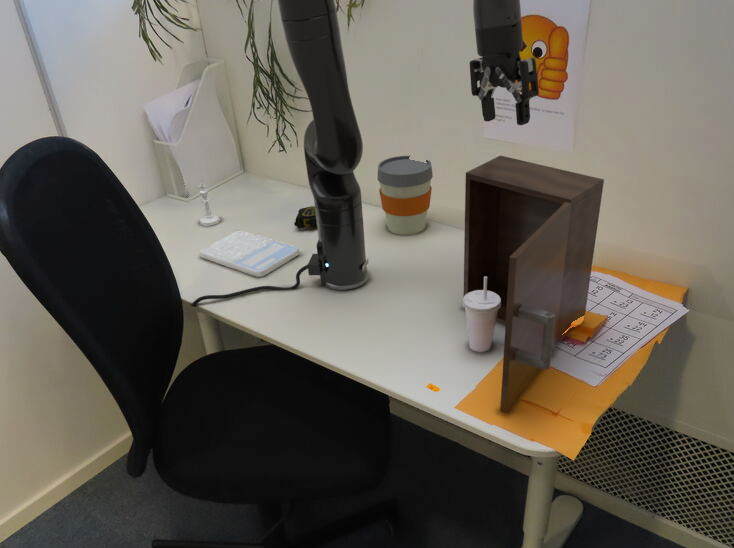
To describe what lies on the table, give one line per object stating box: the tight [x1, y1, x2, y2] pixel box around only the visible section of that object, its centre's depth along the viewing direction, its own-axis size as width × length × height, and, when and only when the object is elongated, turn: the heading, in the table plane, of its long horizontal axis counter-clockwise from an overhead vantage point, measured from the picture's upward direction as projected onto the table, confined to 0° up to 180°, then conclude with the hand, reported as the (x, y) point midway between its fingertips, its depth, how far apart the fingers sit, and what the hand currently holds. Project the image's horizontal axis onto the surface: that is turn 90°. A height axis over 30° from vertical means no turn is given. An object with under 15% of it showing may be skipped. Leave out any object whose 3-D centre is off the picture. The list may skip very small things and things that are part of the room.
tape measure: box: [293, 205, 317, 229], centre depth 166 cm, size 7×7×4 cm
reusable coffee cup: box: [377, 155, 434, 236], centre depth 159 cm, size 12×13×15 cm
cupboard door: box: [499, 202, 572, 414], centre depth 104 cm, size 6×20×27 cm, turn 146°
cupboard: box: [462, 155, 605, 346], centre depth 121 cm, size 10×20×27 cm, turn 46°
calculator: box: [199, 229, 300, 278], centre depth 155 cm, size 13×20×2 cm, turn 53°
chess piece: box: [198, 182, 221, 227], centre depth 170 cm, size 5×5×10 cm
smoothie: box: [462, 276, 501, 353], centre depth 117 cm, size 6×6×14 cm
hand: (506, 122), depth 120 cm, fingers open, 8 cm apart
